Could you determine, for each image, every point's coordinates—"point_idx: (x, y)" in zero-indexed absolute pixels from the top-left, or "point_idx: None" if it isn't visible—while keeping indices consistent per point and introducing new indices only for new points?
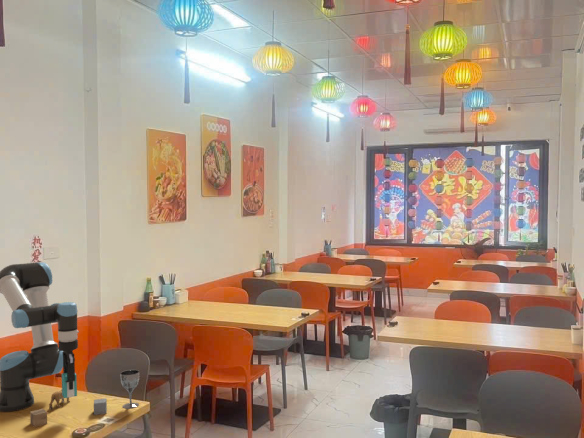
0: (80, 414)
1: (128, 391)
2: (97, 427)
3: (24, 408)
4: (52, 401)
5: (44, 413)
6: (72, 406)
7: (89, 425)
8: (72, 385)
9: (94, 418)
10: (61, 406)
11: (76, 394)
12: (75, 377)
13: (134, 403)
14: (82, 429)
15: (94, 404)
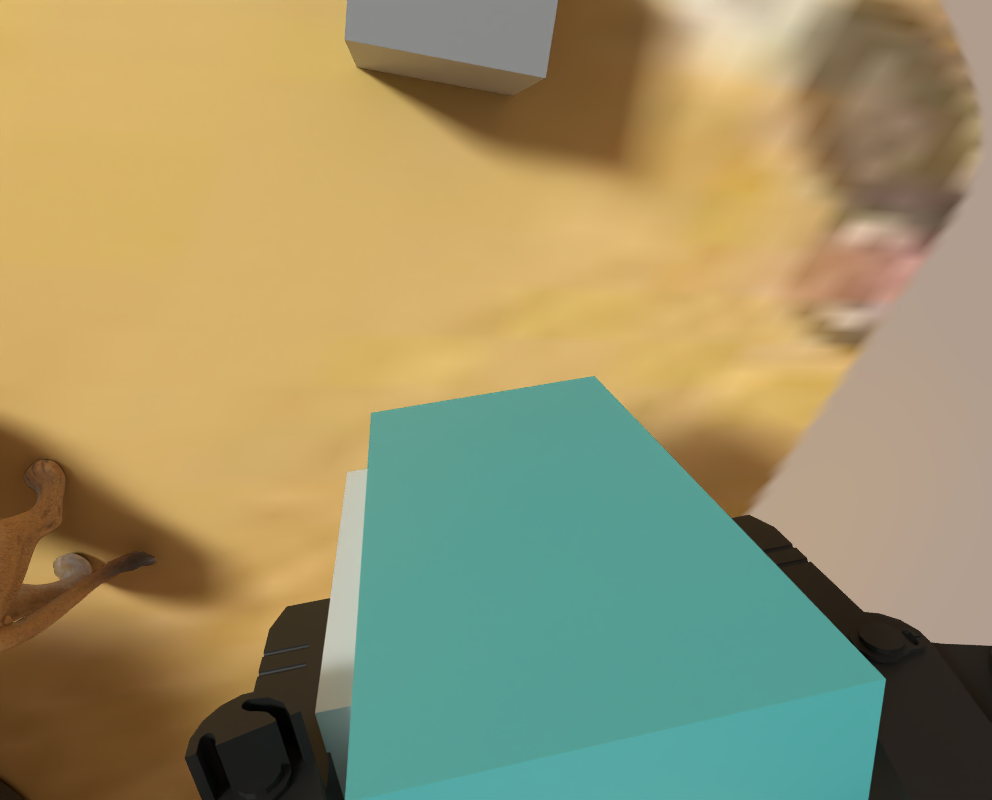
0: (410, 256)
1: None
2: (902, 102)
3: (2, 783)
4: (18, 596)
5: None
6: (69, 337)
7: (796, 182)
8: (815, 578)
9: (626, 103)
10: (48, 463)
11: (606, 393)
12: (812, 633)
13: None
14: (851, 261)
15: (544, 65)
